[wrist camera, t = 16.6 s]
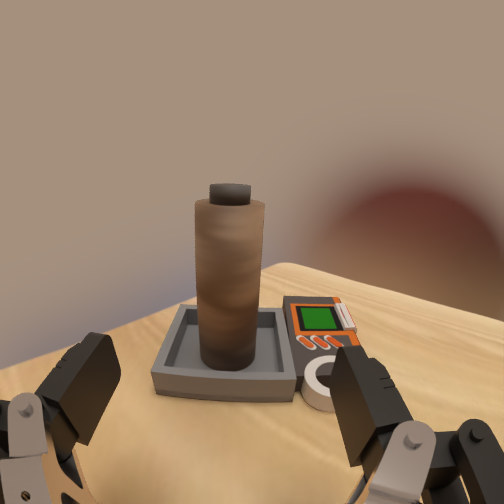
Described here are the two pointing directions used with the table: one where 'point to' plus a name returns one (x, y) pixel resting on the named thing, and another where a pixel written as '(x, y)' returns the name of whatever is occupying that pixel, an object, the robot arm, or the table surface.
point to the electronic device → (317, 343)
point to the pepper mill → (228, 275)
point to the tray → (226, 382)
